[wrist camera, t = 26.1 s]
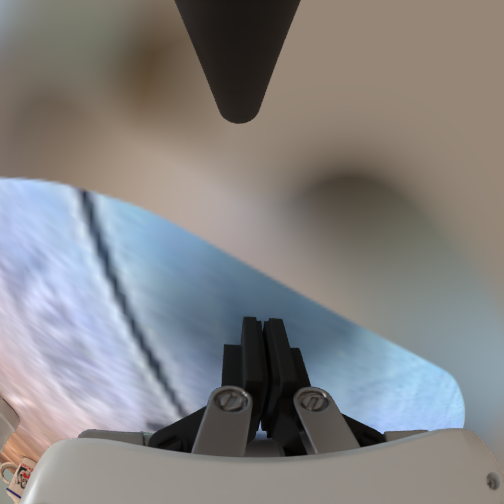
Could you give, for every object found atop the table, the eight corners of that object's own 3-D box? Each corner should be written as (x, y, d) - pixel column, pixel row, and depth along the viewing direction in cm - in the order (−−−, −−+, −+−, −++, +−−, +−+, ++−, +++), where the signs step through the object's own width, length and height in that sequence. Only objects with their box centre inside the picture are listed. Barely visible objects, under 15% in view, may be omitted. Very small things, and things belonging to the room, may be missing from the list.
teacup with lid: (63, 477, 21) (45, 530, 10) (70, 490, 23) (56, 535, 12) (3, 438, 19) (-21, 483, 8) (16, 457, 21) (-3, 497, 10)
